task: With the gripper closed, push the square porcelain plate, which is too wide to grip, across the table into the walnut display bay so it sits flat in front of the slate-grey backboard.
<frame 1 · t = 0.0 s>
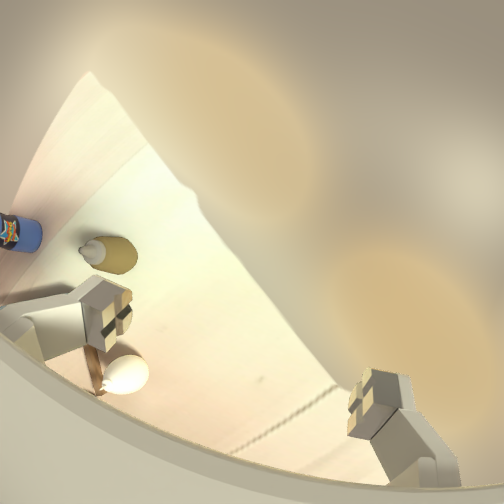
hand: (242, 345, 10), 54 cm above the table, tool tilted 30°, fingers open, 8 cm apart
water bottle: (32, 236, 72), on the table
white dust blower: (141, 366, 66), on the table
squeeze bottle: (127, 257, 68), on the table
display bay: (54, 348, 68), on the table
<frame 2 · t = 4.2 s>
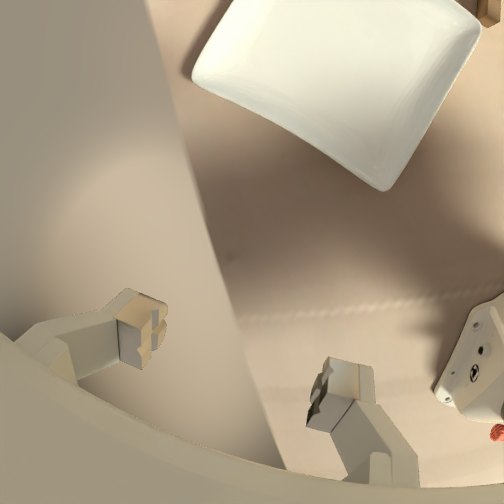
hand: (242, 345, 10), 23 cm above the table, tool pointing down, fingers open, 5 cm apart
salad plate: (341, 43, 24), on the table
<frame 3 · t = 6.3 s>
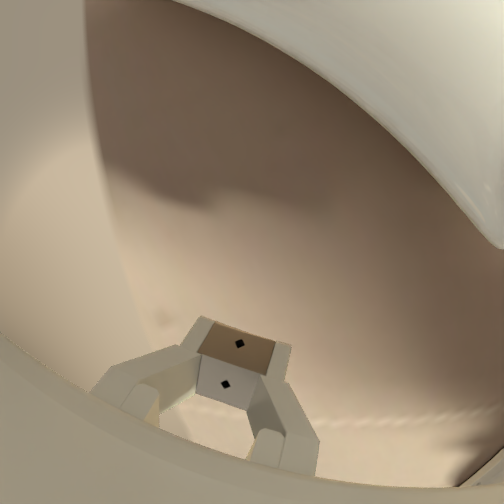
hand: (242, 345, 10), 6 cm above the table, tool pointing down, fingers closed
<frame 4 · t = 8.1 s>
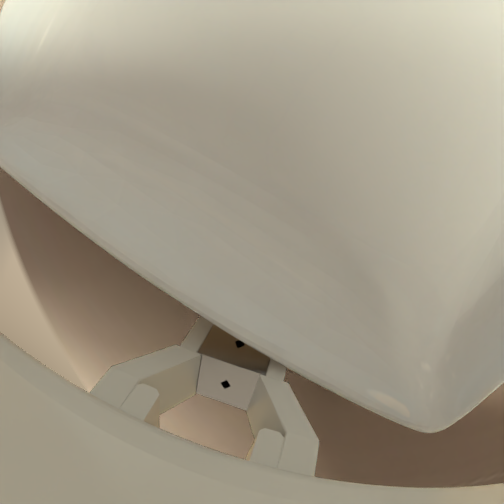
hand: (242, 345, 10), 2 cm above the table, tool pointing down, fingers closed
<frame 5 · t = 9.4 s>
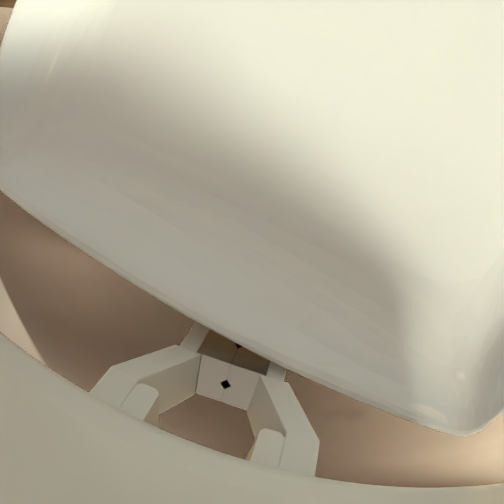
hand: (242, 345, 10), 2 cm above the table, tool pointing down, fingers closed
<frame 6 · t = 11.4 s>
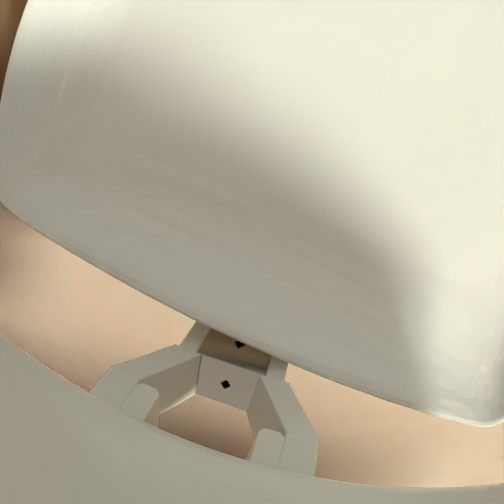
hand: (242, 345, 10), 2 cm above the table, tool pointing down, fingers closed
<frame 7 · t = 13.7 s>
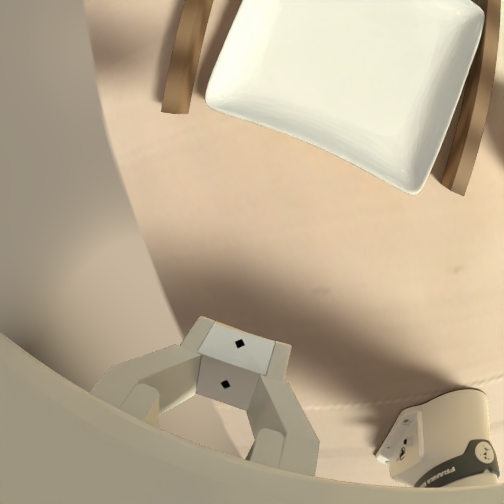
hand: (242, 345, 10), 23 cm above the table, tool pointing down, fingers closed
salad plate: (351, 47, 24), resting in display bay
display bay: (342, 25, 23), on the table
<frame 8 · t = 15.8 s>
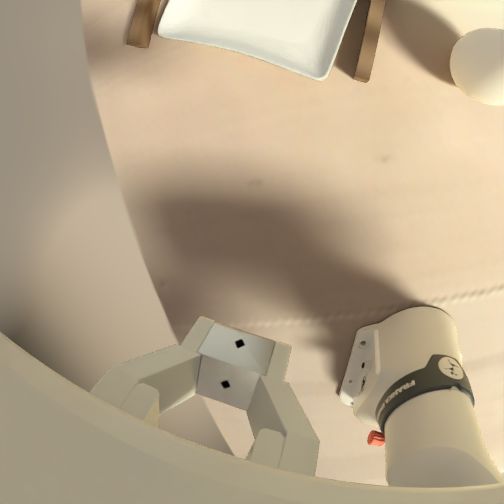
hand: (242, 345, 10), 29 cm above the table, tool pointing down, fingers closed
white dust blower: (465, 74, 26), on the table
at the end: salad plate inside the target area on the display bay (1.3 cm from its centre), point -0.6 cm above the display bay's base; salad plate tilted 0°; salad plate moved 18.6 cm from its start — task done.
